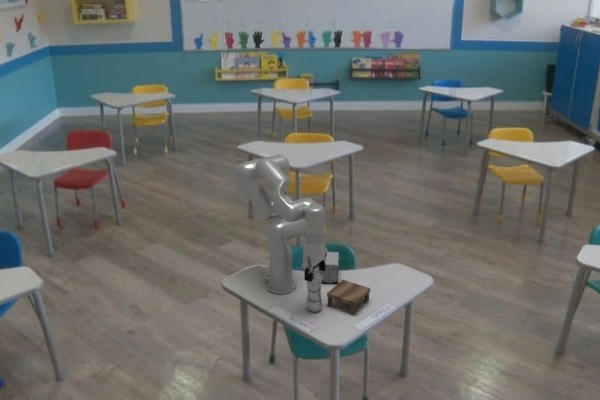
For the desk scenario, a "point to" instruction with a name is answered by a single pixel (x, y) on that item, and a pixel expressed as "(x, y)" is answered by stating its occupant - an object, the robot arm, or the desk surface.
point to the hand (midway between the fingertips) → (315, 275)
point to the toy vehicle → (331, 268)
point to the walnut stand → (348, 294)
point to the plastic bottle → (314, 291)
